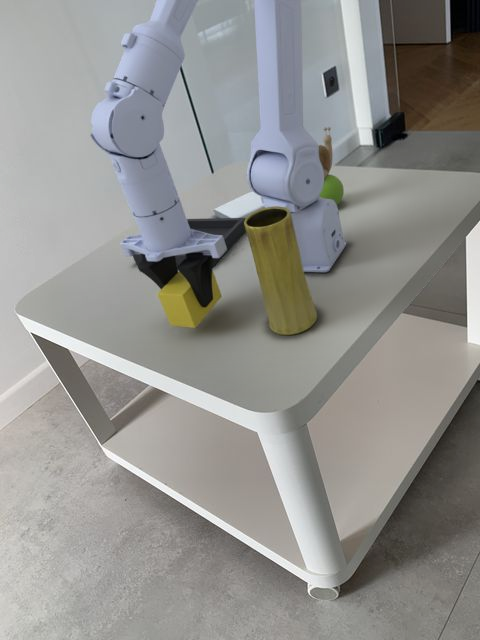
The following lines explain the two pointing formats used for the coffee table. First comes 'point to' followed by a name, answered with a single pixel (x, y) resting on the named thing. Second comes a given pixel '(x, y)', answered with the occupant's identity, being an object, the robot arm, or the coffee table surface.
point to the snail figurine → (331, 183)
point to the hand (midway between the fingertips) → (193, 302)
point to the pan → (213, 233)
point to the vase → (280, 270)
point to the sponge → (185, 302)
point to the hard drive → (240, 206)
